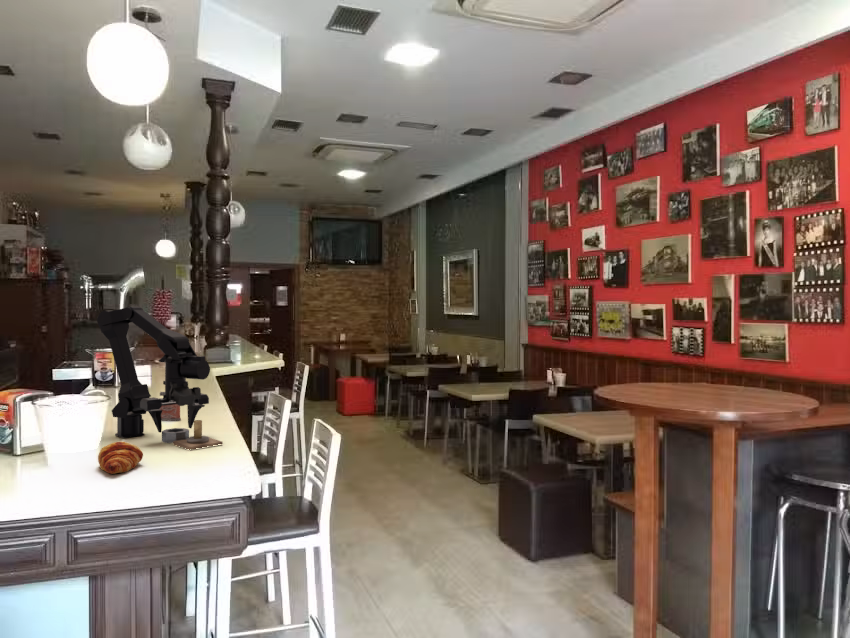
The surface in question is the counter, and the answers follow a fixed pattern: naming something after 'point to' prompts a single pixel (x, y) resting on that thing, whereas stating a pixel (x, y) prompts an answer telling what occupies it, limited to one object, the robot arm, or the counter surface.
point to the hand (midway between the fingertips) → (175, 430)
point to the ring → (174, 435)
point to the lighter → (170, 411)
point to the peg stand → (197, 439)
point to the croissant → (119, 457)
